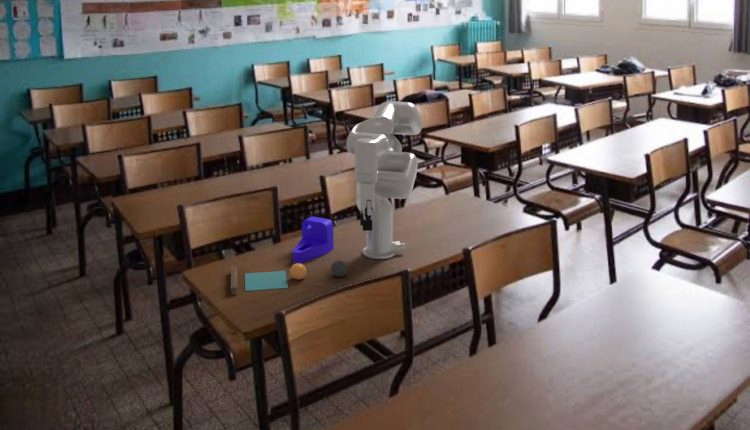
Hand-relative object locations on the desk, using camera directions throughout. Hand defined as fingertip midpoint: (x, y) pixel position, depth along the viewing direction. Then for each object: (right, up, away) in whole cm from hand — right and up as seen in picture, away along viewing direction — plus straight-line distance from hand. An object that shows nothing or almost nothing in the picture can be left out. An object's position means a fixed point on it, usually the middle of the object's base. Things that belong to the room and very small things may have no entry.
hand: (366, 227), depth 245 cm
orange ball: (-23, -15, +1) cm, 28 cm away
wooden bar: (-44, -19, -2) cm, 48 cm away
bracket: (-22, -11, +22) cm, 33 cm away
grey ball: (-9, -14, +3) cm, 17 cm away
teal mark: (-34, -18, 0) cm, 39 cm away
